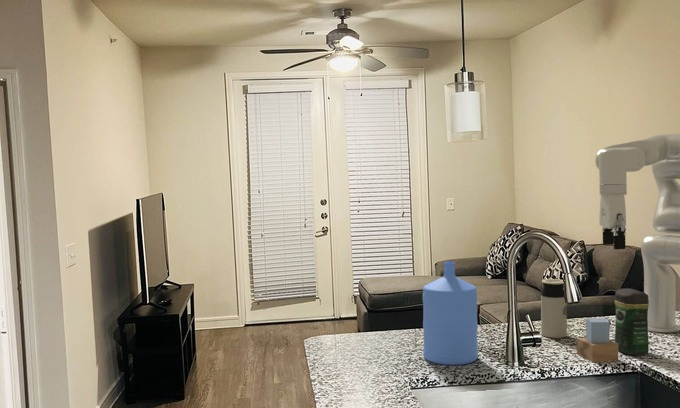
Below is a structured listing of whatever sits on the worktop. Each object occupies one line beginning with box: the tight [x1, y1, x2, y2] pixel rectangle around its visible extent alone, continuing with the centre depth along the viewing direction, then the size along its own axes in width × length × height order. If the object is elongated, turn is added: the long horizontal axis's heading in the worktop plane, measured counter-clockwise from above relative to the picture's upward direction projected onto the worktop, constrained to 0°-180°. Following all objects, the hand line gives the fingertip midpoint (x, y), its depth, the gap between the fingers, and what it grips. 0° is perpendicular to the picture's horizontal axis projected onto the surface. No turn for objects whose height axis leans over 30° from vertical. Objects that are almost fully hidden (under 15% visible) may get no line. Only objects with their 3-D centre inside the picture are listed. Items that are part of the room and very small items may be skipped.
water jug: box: [422, 261, 479, 366], centre depth 191 cm, size 16×16×28 cm
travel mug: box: [540, 278, 568, 339], centre depth 215 cm, size 8×8×18 cm
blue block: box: [585, 317, 610, 343], centre depth 190 cm, size 5×5×6 cm
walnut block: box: [576, 337, 619, 363], centre depth 190 cm, size 8×8×5 cm
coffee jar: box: [614, 287, 650, 356], centre depth 195 cm, size 10×8×19 cm
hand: (613, 246), depth 199 cm, fingers open, 9 cm apart
